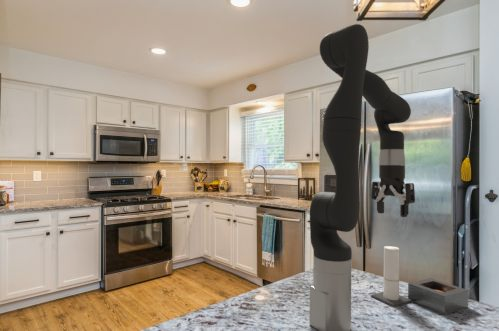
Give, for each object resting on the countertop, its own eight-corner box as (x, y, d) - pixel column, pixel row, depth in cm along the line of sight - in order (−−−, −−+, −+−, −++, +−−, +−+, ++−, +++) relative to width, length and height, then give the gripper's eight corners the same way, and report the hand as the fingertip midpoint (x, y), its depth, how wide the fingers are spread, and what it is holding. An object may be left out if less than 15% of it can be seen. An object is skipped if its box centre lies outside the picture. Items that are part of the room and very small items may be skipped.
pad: (393, 306, 89) (393, 304, 89) (371, 296, 96) (371, 294, 96) (411, 301, 93) (411, 299, 93) (388, 292, 100) (388, 290, 100)
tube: (400, 300, 92) (401, 249, 92) (385, 299, 93) (385, 249, 93) (396, 295, 96) (397, 246, 96) (382, 293, 97) (382, 245, 97)
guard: (444, 314, 84) (444, 296, 85) (408, 299, 94) (408, 283, 94) (467, 307, 89) (467, 290, 90) (430, 293, 99) (430, 278, 99)
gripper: (365, 164, 104) (366, 212, 103) (403, 163, 91) (404, 219, 91) (381, 164, 107) (381, 211, 107) (420, 163, 94) (420, 217, 94)
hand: (392, 214), depth 99 cm, fingers open, 8 cm apart
